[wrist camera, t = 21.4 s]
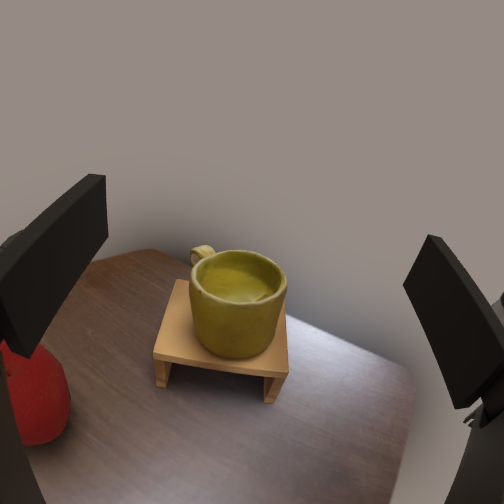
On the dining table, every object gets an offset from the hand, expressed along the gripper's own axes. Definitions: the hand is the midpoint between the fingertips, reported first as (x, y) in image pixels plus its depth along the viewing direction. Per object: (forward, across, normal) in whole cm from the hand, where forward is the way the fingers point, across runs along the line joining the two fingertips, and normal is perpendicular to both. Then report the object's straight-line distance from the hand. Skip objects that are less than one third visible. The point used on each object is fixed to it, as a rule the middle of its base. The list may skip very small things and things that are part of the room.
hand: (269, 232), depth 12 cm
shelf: (+14, 0, -27) cm, 31 cm away
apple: (-1, -20, -28) cm, 34 cm away
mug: (+14, -1, -21) cm, 25 cm away
